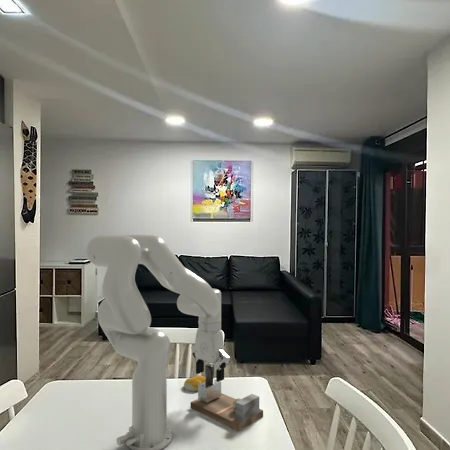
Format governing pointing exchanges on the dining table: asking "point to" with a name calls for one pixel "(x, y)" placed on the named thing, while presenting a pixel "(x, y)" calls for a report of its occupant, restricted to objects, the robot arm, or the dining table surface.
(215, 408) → the base
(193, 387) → the bread roll
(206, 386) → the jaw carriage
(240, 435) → the dining table surface
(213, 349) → the robot arm
